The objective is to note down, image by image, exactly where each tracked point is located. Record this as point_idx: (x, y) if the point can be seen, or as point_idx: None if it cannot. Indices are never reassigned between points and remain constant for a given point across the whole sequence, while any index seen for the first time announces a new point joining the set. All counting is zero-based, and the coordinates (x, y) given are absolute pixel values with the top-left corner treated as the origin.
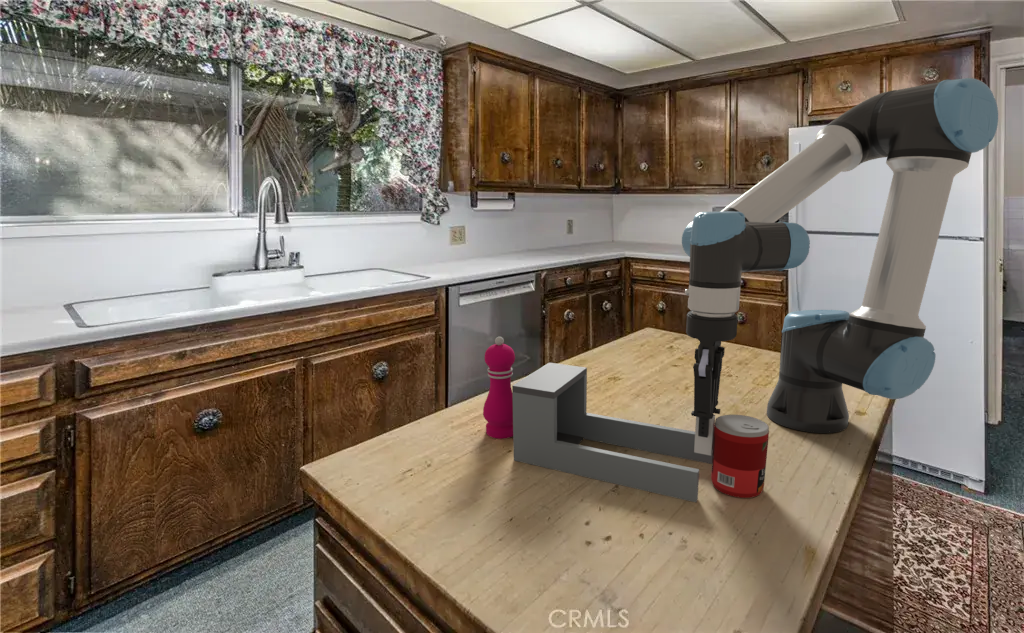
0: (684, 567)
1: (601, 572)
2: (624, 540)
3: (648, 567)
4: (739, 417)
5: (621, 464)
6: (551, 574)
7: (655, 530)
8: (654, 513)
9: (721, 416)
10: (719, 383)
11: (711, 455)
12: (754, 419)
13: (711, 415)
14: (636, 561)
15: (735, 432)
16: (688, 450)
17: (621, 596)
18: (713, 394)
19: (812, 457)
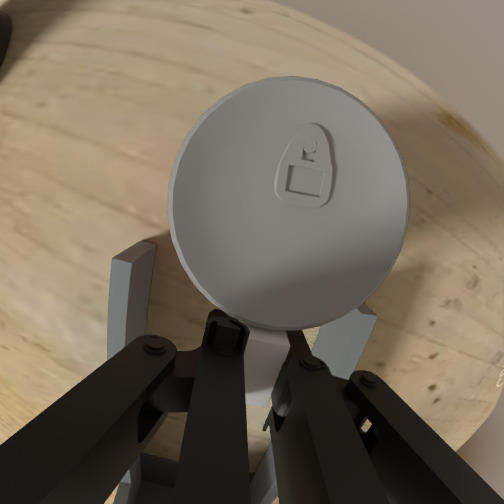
0: (483, 298)
1: (475, 373)
2: (439, 370)
3: (478, 335)
4: (193, 203)
5: None
6: (467, 405)
7: (425, 342)
8: (386, 351)
9: (219, 300)
10: (60, 400)
11: (149, 251)
12: (216, 127)
13: (375, 378)
14: (470, 349)
15: (398, 248)
16: (142, 307)
17: (499, 348)
18: (351, 454)
19: (89, 34)
